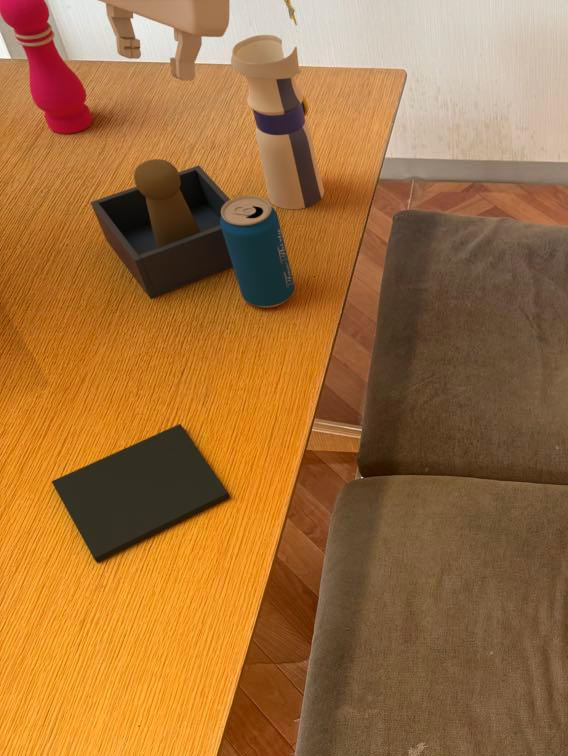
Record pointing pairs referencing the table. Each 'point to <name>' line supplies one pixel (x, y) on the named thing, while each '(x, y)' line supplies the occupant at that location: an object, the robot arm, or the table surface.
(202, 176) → the bin
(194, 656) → the table surface
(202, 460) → the mat
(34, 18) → the pepper mill
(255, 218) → the beverage can
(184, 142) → the table surface
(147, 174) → the brown pawn
